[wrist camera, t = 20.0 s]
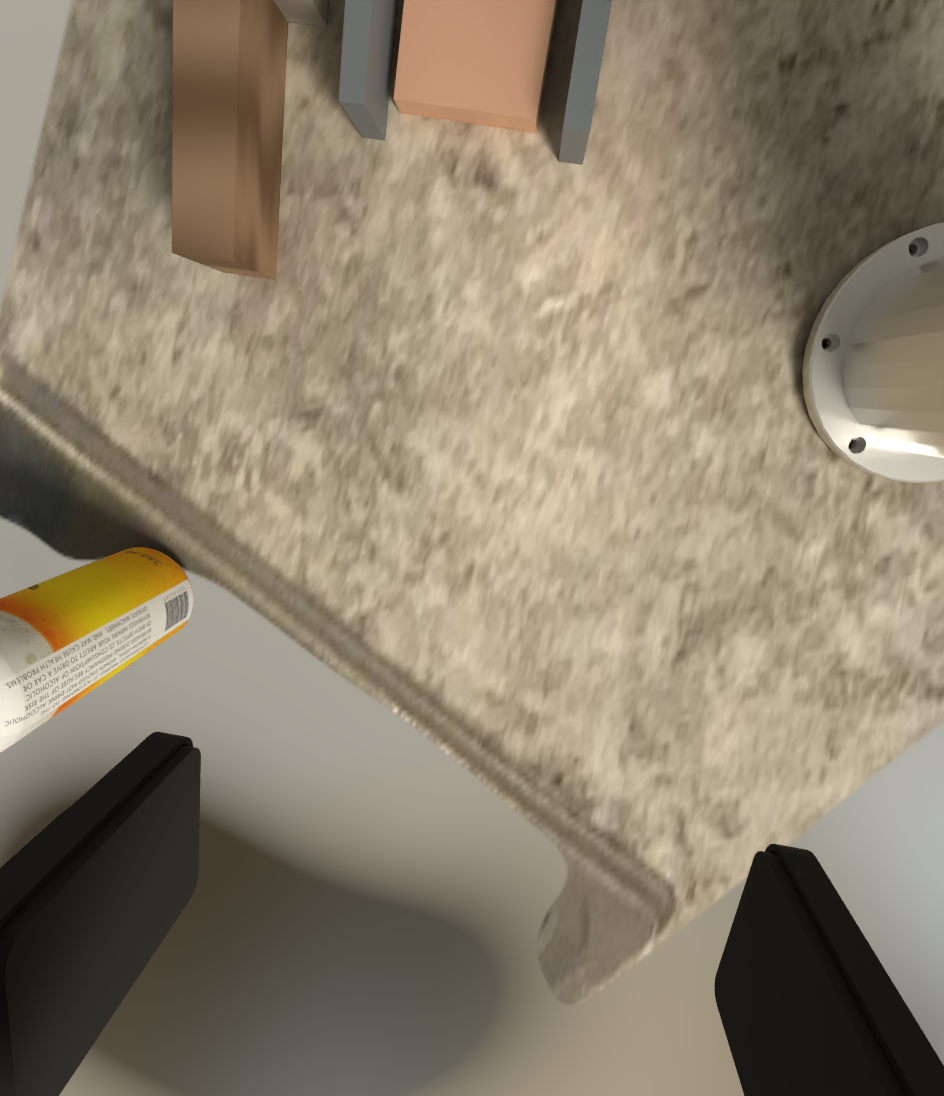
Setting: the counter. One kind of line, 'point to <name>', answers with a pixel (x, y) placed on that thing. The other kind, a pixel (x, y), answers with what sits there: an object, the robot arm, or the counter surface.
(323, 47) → the counter surface
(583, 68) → the bay
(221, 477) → the counter surface
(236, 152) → the scraper
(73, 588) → the beer can
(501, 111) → the tile
